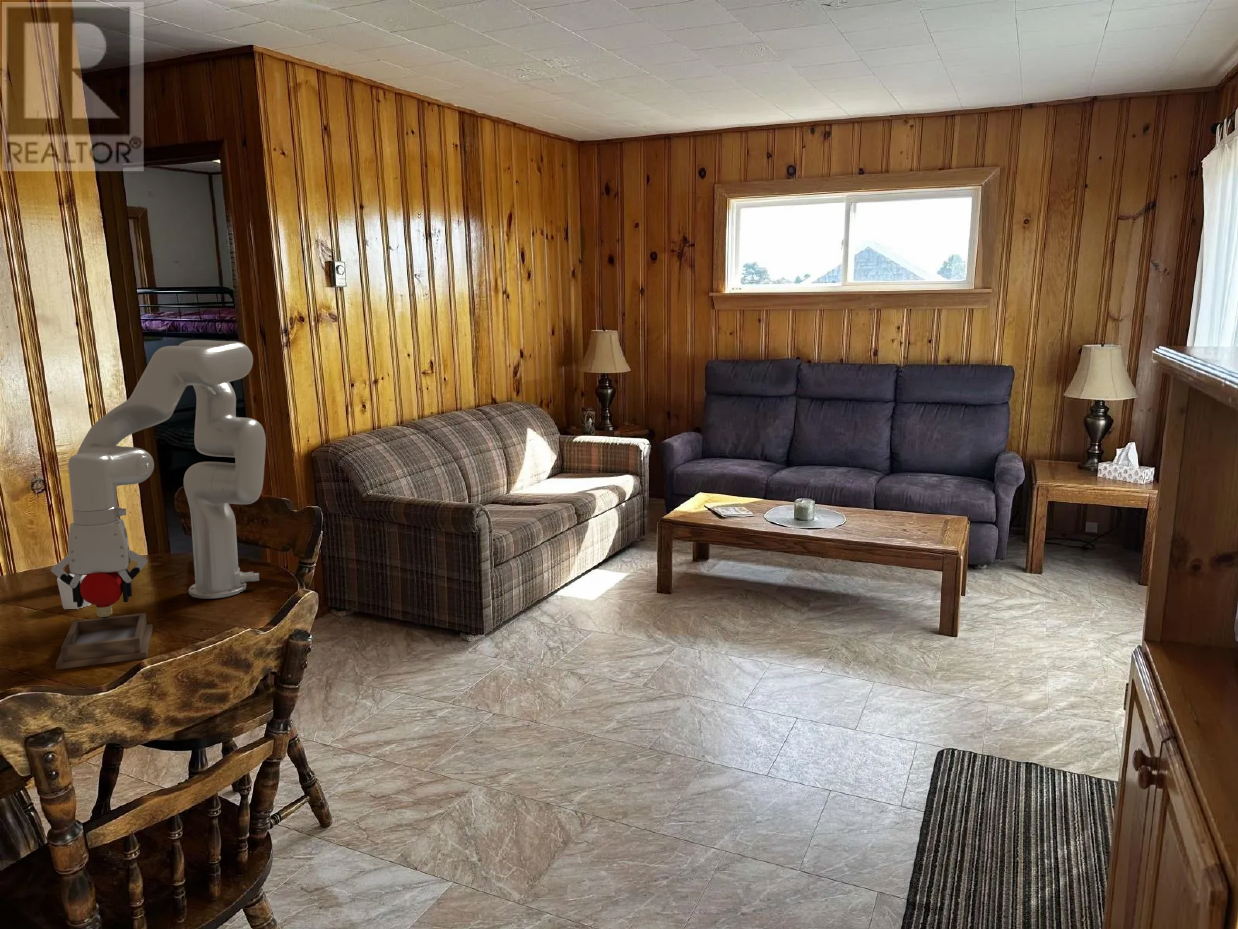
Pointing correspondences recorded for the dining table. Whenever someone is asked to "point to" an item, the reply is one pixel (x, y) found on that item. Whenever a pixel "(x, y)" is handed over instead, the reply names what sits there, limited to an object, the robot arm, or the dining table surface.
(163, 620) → the dining table surface
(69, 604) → the shot glass
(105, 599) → the red mushroom
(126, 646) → the tray
